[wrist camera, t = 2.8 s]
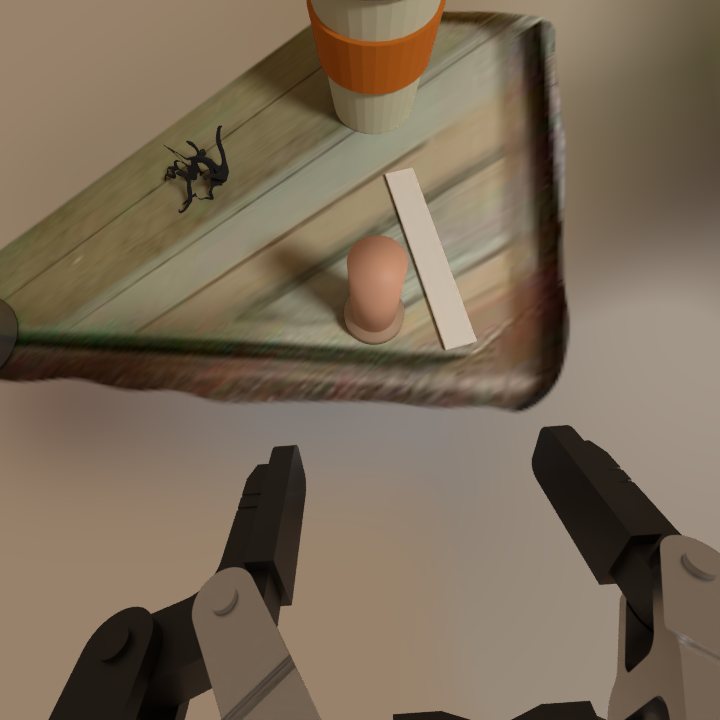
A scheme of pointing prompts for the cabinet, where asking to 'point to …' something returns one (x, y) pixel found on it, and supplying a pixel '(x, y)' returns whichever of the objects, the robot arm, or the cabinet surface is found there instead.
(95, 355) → the cabinet surface
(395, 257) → the pin
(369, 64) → the reusable coffee cup
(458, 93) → the cabinet surface
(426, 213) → the strip
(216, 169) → the creature
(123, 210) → the cabinet surface
